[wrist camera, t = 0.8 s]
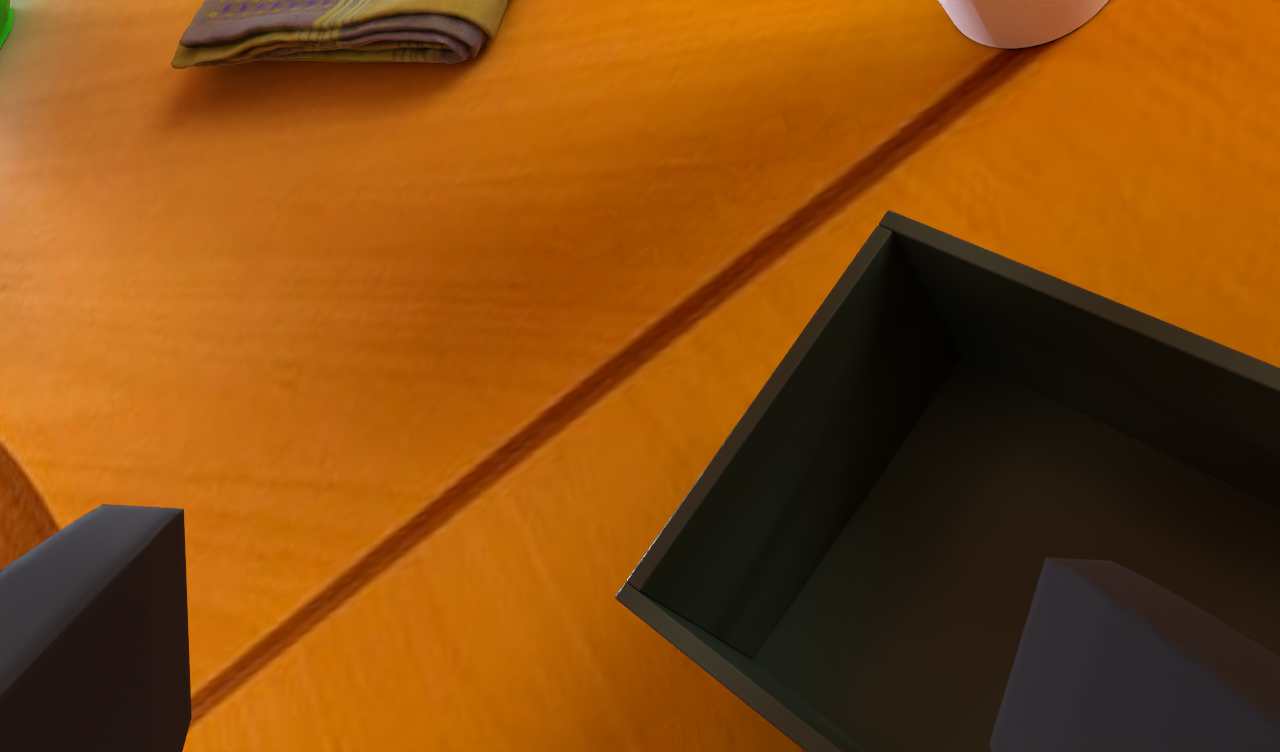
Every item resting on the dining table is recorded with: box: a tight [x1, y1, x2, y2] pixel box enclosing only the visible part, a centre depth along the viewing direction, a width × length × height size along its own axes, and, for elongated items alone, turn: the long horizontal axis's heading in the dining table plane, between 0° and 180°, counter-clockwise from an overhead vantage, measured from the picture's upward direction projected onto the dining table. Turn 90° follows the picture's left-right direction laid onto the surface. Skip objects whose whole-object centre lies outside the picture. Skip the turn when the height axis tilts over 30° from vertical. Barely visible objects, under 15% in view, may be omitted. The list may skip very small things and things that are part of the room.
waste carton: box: [615, 210, 1280, 752], centre depth 23 cm, size 12×10×6 cm
